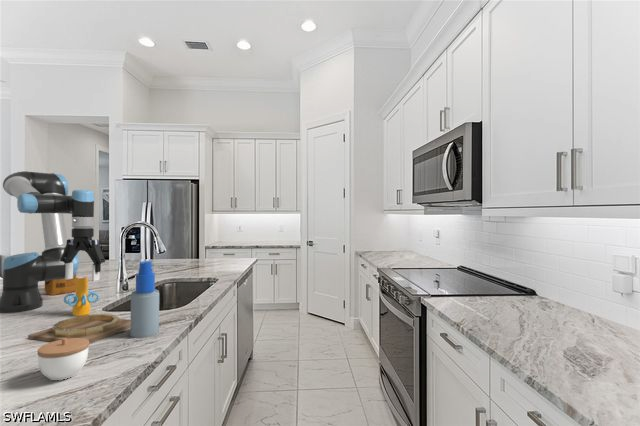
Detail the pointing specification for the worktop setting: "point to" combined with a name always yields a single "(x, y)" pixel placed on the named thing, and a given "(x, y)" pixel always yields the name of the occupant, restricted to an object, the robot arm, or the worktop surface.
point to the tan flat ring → (88, 331)
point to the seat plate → (49, 335)
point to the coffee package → (60, 286)
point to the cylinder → (81, 297)
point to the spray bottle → (145, 304)
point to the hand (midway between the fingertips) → (82, 279)
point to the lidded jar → (63, 358)
